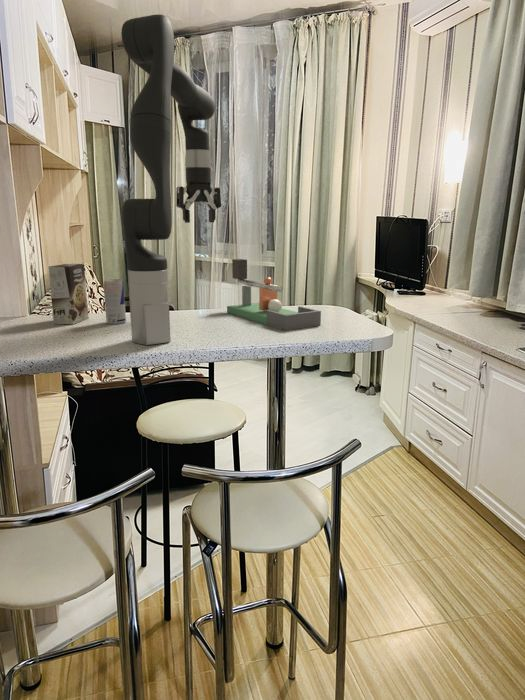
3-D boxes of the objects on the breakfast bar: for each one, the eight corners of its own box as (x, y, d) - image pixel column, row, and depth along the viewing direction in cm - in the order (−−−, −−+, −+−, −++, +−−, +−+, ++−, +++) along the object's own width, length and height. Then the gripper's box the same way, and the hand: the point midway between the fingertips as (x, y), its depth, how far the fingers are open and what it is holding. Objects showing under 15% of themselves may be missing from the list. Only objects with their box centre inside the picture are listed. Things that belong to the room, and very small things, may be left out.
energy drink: (128, 320, 151) (125, 279, 148) (122, 324, 146) (119, 281, 143) (110, 320, 151) (107, 279, 148) (103, 324, 146) (100, 281, 143)
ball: (284, 313, 152) (284, 299, 151) (273, 314, 149) (273, 300, 148) (276, 311, 155) (276, 297, 154) (265, 312, 153) (265, 298, 152)
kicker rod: (286, 311, 151) (287, 264, 148) (272, 313, 149) (273, 265, 145) (243, 300, 171) (243, 258, 167) (230, 301, 168) (229, 259, 164)
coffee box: (74, 324, 145) (68, 266, 141) (52, 324, 146) (46, 266, 142) (89, 318, 154) (85, 263, 150) (69, 317, 155) (64, 263, 151)
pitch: (320, 325, 145) (321, 296, 143) (285, 330, 139) (286, 300, 137) (259, 308, 170) (259, 284, 168) (227, 312, 163) (226, 286, 161)
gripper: (182, 164, 149) (184, 223, 154) (224, 167, 157) (225, 222, 162) (170, 166, 155) (173, 222, 159) (212, 168, 163) (213, 221, 167)
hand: (199, 222), depth 161 cm, fingers open, 8 cm apart
